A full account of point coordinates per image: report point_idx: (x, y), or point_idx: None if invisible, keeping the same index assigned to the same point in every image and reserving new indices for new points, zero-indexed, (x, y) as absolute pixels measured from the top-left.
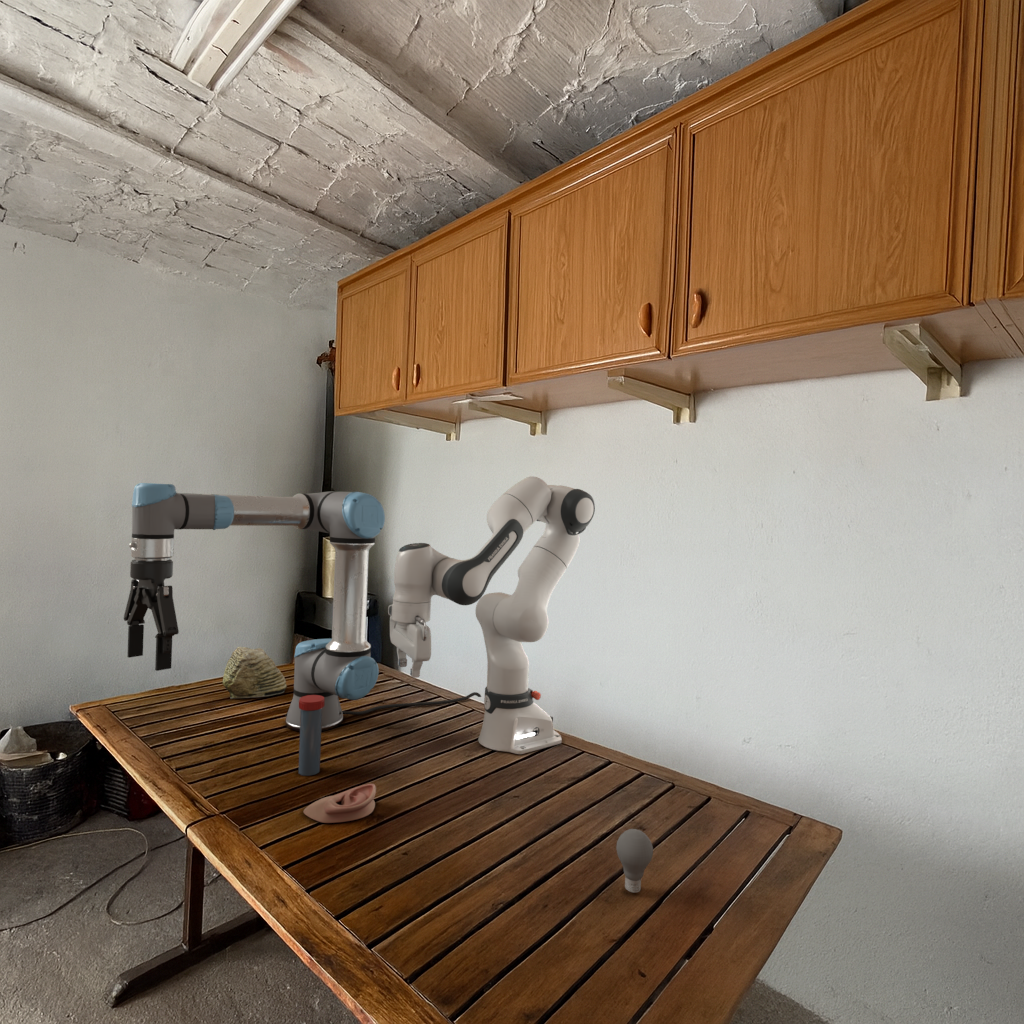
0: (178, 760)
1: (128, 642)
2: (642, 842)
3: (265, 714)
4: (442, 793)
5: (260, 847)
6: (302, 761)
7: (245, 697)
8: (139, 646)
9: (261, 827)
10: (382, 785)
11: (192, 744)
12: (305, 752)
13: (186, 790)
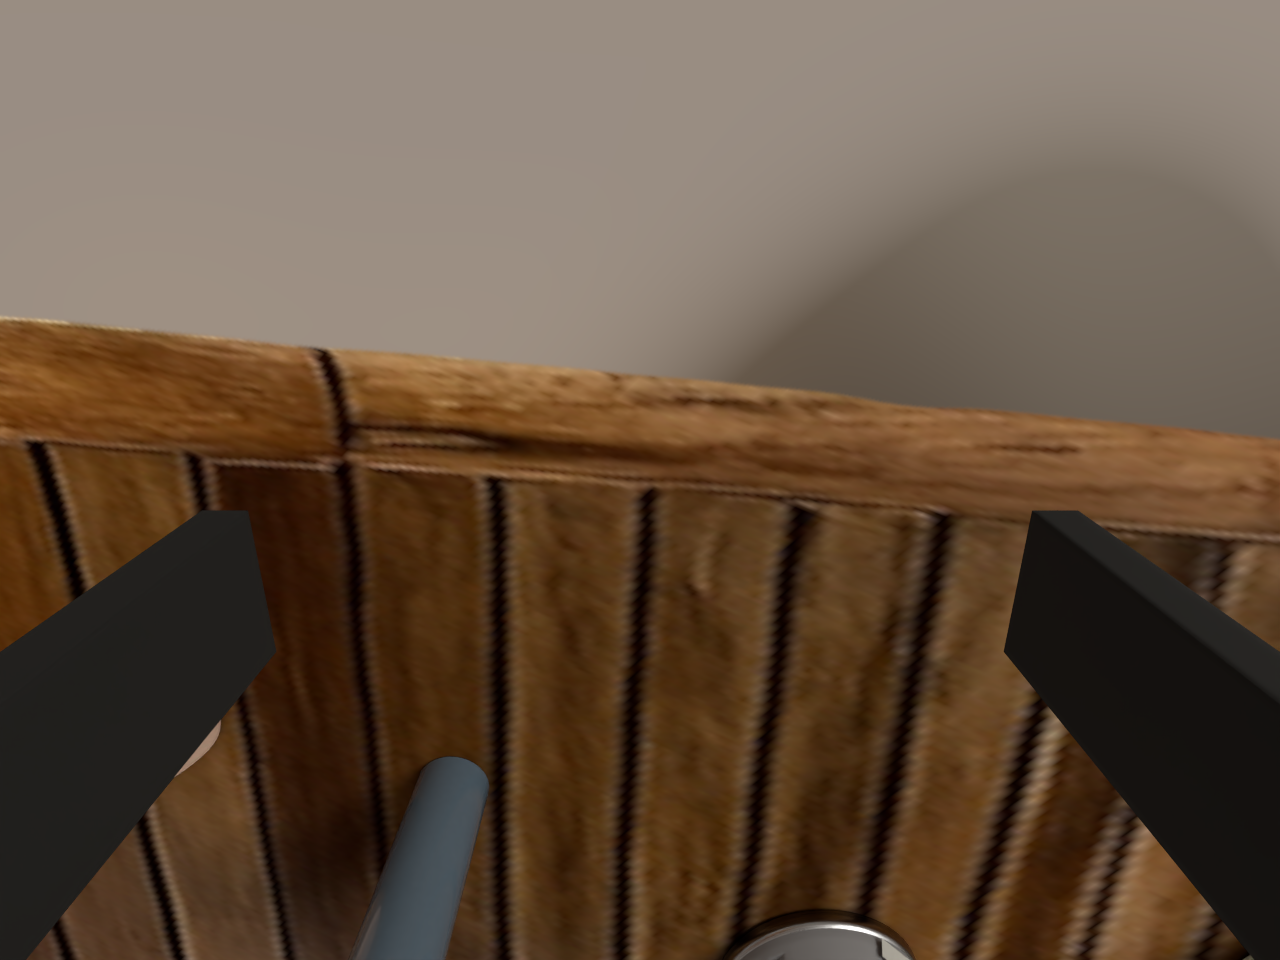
0: (877, 547)
1: (1190, 607)
2: None
3: (1030, 923)
4: (67, 930)
5: (40, 444)
6: (428, 792)
7: (1248, 957)
8: (1074, 688)
9: (165, 505)
10: (215, 863)
11: (981, 642)
12: (409, 823)
13: (598, 459)
